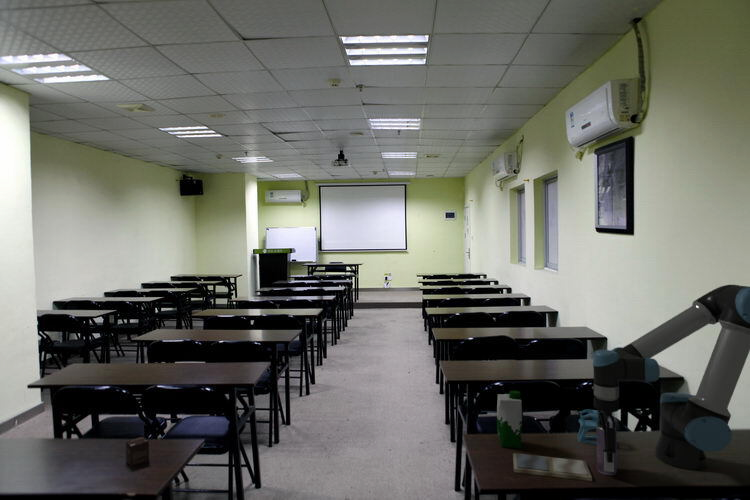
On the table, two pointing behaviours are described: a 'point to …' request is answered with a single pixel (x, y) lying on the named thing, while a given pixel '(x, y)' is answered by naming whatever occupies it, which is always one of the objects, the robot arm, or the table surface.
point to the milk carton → (509, 419)
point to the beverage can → (601, 454)
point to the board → (551, 467)
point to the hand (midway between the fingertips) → (606, 465)
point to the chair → (587, 426)
